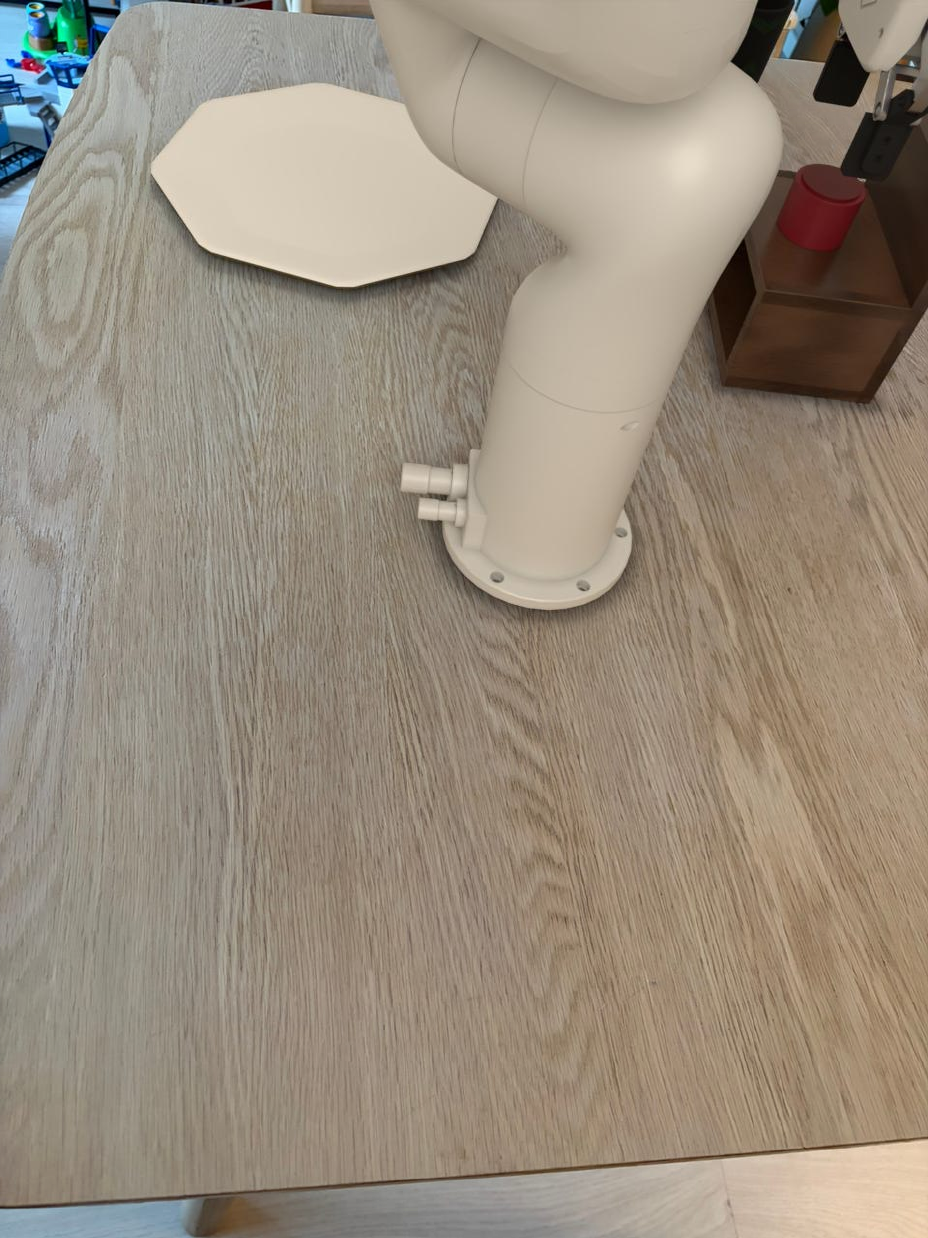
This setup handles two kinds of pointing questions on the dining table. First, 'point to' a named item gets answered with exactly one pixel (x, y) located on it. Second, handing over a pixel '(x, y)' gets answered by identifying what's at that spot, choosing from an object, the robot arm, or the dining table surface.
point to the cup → (762, 36)
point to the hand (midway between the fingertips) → (846, 137)
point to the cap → (820, 207)
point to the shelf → (828, 292)
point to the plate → (319, 187)
